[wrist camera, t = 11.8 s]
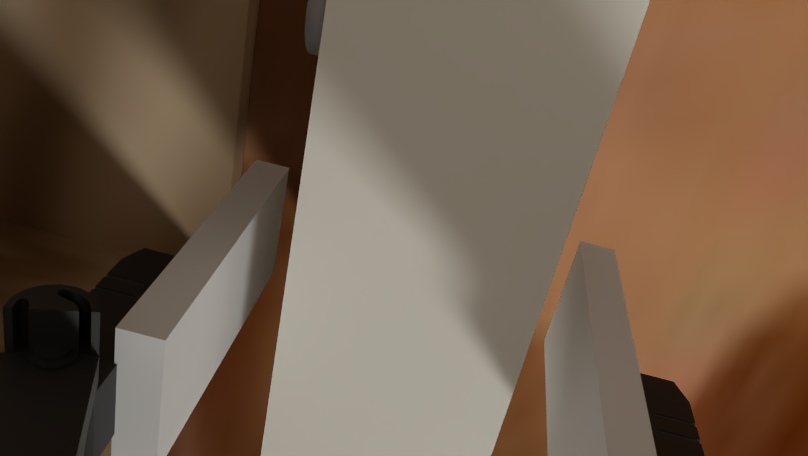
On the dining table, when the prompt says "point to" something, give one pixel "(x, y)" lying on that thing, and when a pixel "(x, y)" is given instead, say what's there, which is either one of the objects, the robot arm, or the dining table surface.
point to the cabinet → (115, 130)
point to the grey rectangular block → (434, 213)
